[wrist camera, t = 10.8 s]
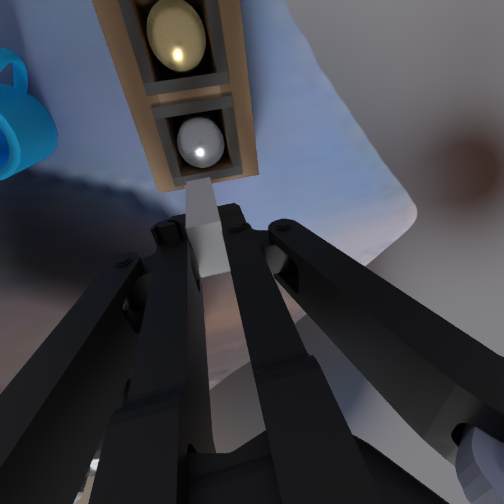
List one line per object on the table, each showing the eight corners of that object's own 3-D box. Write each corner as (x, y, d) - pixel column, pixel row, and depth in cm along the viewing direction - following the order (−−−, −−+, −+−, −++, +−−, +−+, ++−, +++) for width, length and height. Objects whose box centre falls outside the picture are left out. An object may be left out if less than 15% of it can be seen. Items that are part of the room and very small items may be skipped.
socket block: (164, 175, 35) (158, 194, 29) (106, -4, 25) (80, -31, 19) (248, 160, 37) (259, 175, 31) (225, -17, 26) (235, -47, 20)
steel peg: (185, 157, 34) (184, 171, 29) (174, 115, 31) (170, 122, 26) (221, 150, 35) (227, 163, 29) (214, 109, 32) (219, 114, 26)
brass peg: (164, 76, 29) (157, 74, 24) (148, 18, 26) (137, 0, 21) (207, 70, 30) (211, 67, 24) (196, 12, 27) (198, -7, 21)
